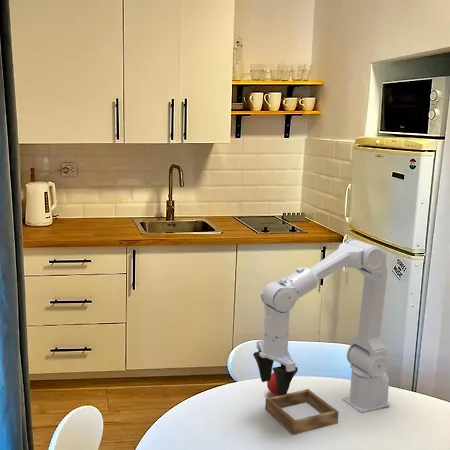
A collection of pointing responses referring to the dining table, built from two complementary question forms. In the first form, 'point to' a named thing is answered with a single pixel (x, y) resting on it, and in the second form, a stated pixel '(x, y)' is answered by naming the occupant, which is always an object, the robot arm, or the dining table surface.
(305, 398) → the box
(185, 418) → the dining table surface
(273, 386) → the onion
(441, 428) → the dining table surface
